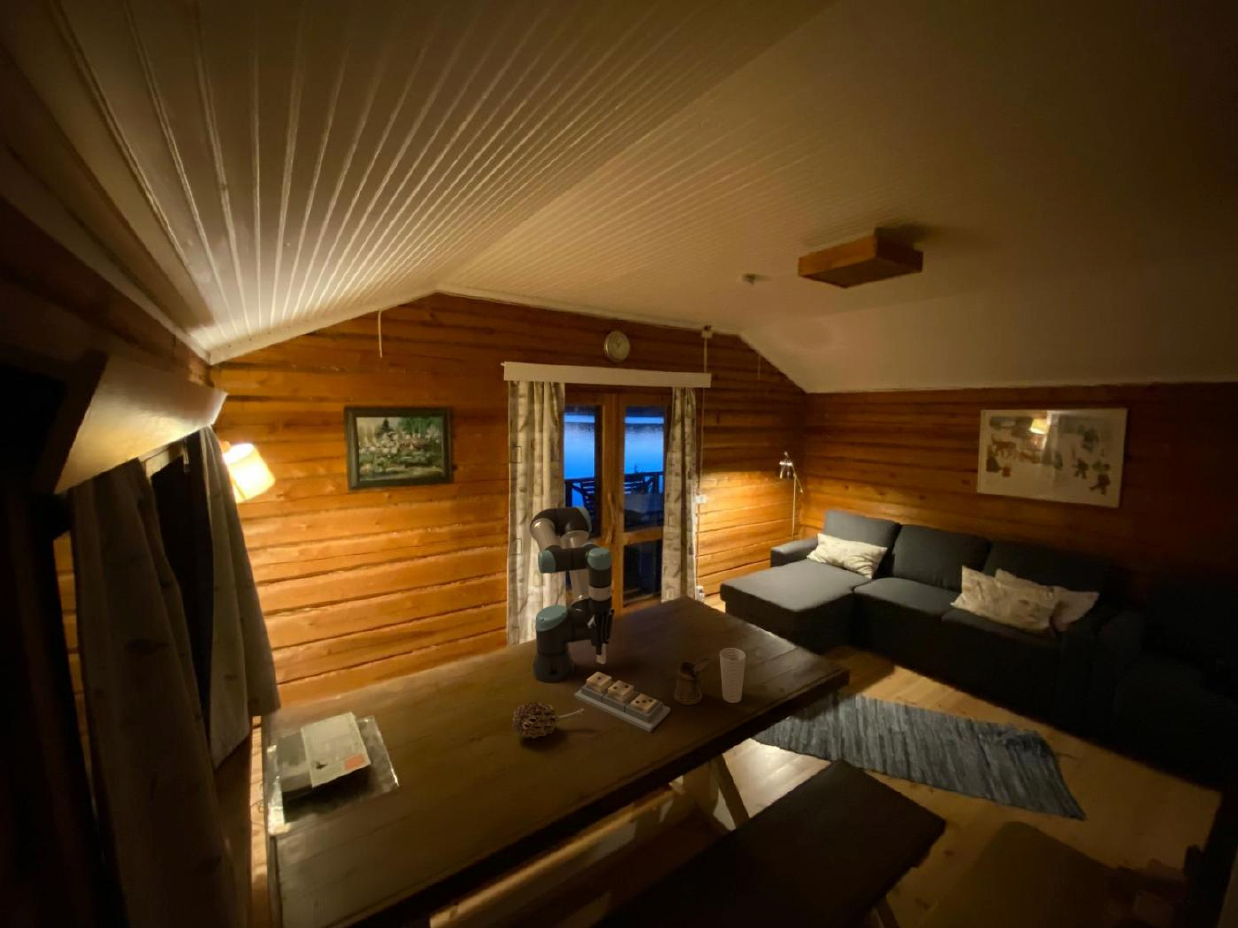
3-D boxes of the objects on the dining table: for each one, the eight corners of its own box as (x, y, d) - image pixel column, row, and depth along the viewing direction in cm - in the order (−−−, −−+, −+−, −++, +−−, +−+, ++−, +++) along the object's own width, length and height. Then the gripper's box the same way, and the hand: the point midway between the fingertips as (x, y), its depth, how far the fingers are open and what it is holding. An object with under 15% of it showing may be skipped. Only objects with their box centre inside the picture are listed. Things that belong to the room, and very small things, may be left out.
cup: (713, 697, 169) (714, 654, 167) (728, 686, 175) (729, 644, 173) (735, 708, 163) (736, 663, 161) (750, 697, 169) (751, 653, 167)
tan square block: (586, 687, 171) (586, 679, 170) (597, 679, 175) (597, 670, 175) (600, 694, 167) (600, 685, 167) (611, 685, 172) (611, 676, 171)
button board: (574, 697, 171) (573, 688, 170) (596, 680, 180) (596, 671, 180) (649, 732, 153) (649, 721, 152) (670, 711, 162) (670, 701, 162)
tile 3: (630, 711, 160) (630, 702, 160) (641, 702, 165) (641, 692, 165) (646, 718, 157) (646, 709, 156) (657, 708, 162) (657, 699, 161)
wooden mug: (694, 716, 160) (694, 663, 157) (668, 694, 171) (668, 644, 169) (716, 707, 164) (716, 655, 162) (690, 686, 176) (690, 637, 173)
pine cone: (515, 751, 146) (513, 719, 144) (510, 730, 155) (509, 700, 153) (589, 733, 153) (588, 702, 151) (581, 714, 162) (580, 685, 160)
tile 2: (608, 697, 165) (607, 688, 165) (618, 688, 170) (618, 679, 170) (623, 703, 162) (622, 694, 161) (633, 694, 167) (633, 685, 166)
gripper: (597, 606, 158) (598, 675, 163) (621, 591, 169) (621, 656, 173) (578, 600, 163) (580, 667, 167) (602, 586, 173) (603, 649, 178)
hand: (601, 661), depth 170 cm, fingers closed
